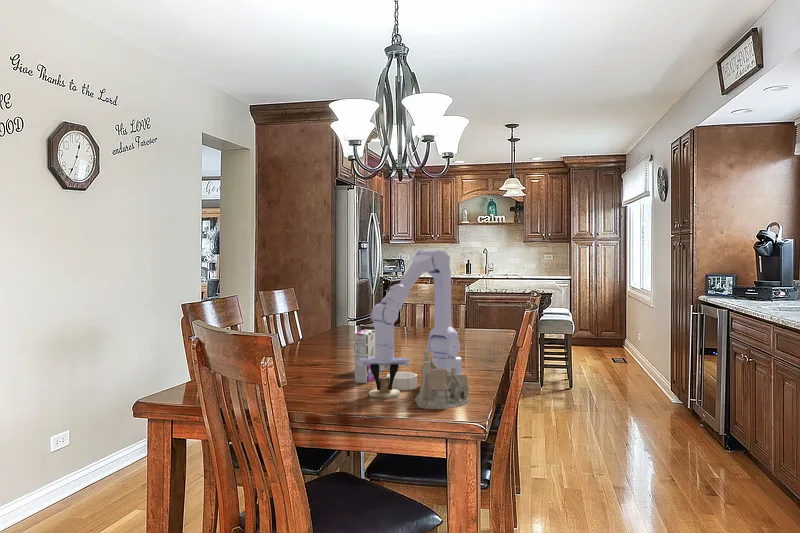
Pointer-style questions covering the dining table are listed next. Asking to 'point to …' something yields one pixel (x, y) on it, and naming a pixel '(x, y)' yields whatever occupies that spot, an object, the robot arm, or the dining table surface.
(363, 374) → the candy bar box
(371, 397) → the mat
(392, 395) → the lid
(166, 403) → the dining table surface
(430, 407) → the ceramic cottage
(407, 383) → the bowl
